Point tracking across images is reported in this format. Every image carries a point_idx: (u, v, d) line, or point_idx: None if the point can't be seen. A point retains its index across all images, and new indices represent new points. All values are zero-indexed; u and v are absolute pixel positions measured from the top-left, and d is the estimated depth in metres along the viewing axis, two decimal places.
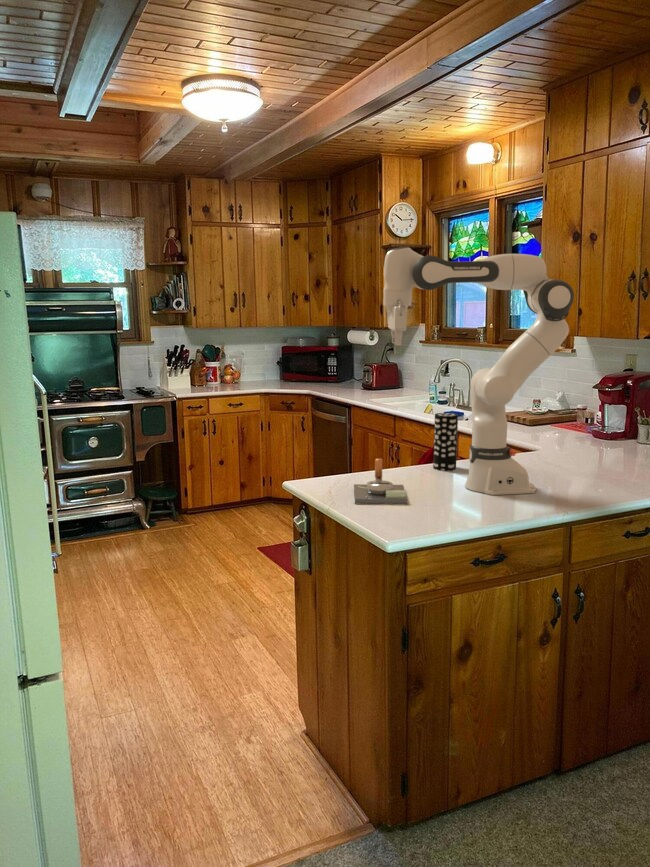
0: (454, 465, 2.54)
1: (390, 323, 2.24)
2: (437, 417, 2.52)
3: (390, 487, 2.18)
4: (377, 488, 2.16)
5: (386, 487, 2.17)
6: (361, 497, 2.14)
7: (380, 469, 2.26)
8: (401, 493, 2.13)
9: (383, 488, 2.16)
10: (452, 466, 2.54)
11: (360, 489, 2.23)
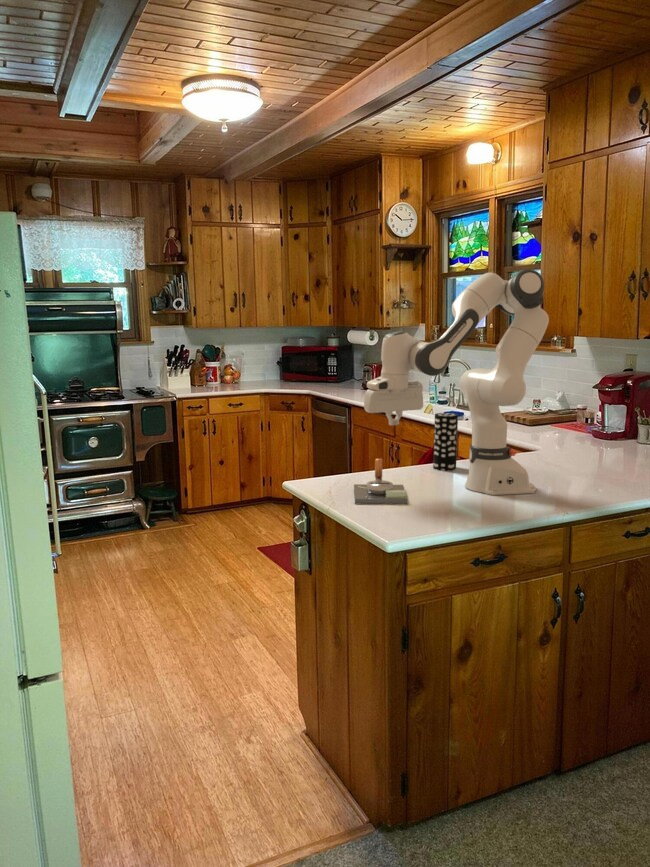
0: (454, 465, 2.54)
1: (390, 406, 2.23)
2: (437, 417, 2.52)
3: (390, 487, 2.18)
4: (377, 488, 2.16)
5: (386, 487, 2.17)
6: (361, 497, 2.14)
7: (380, 469, 2.26)
8: (401, 493, 2.13)
9: (383, 488, 2.16)
10: (452, 466, 2.54)
11: (360, 489, 2.23)
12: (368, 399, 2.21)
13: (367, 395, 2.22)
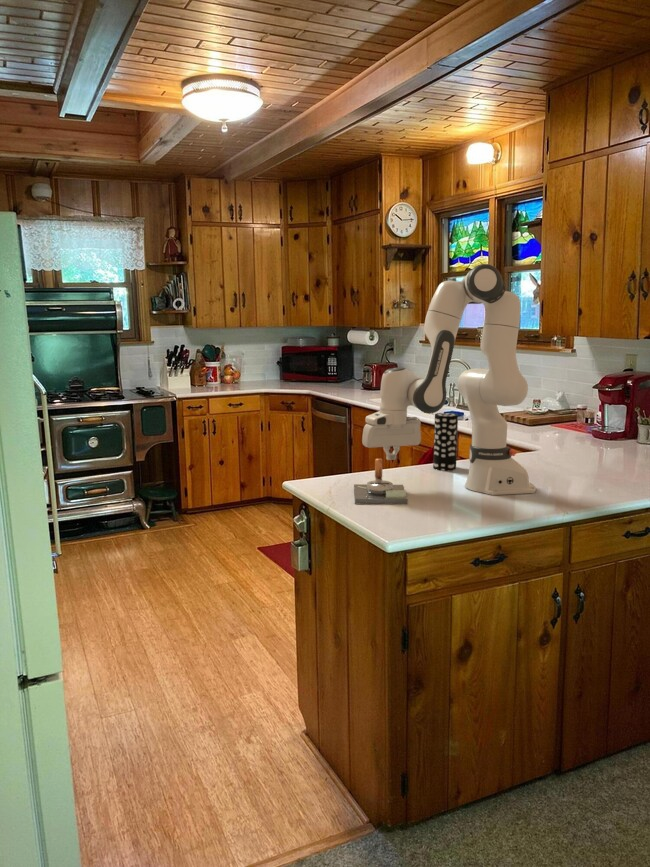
0: (454, 465, 2.54)
1: (388, 441, 2.25)
2: (437, 417, 2.52)
3: (390, 487, 2.18)
4: (377, 488, 2.16)
5: (386, 487, 2.17)
6: (361, 497, 2.14)
7: (380, 469, 2.26)
8: (401, 493, 2.13)
9: (383, 488, 2.16)
10: (452, 466, 2.54)
11: (360, 489, 2.23)
12: (366, 433, 2.23)
13: (365, 429, 2.24)
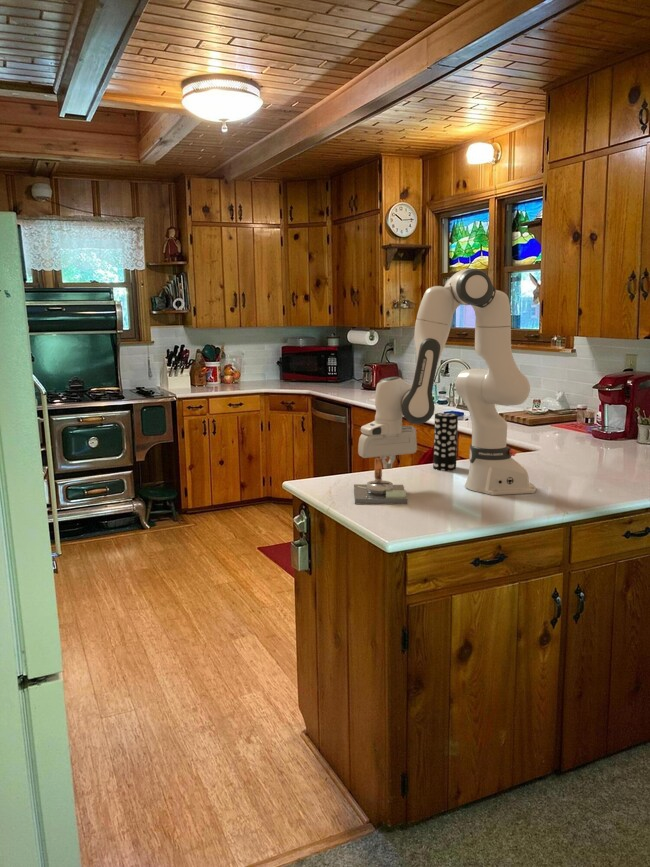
0: (454, 465, 2.54)
1: (384, 450, 2.25)
2: (437, 417, 2.52)
3: (390, 487, 2.18)
4: (377, 488, 2.16)
5: (386, 487, 2.17)
6: (361, 497, 2.14)
7: (380, 469, 2.26)
8: (401, 493, 2.13)
9: (383, 488, 2.16)
10: (452, 466, 2.54)
11: (360, 489, 2.23)
12: (362, 444, 2.23)
13: (360, 440, 2.24)
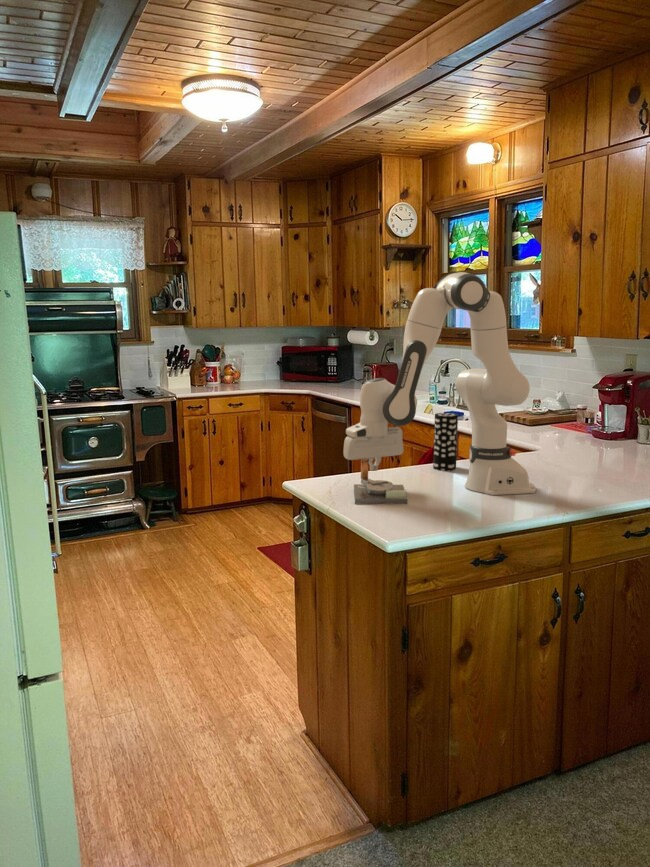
0: (454, 465, 2.54)
1: (369, 452, 2.23)
2: (437, 417, 2.52)
3: (392, 485, 2.20)
4: (385, 488, 2.16)
5: (391, 486, 2.18)
6: (361, 497, 2.14)
7: (367, 470, 2.25)
8: (401, 493, 2.13)
9: (389, 487, 2.17)
10: (452, 466, 2.54)
11: (360, 489, 2.23)
12: (347, 446, 2.21)
13: (346, 442, 2.22)
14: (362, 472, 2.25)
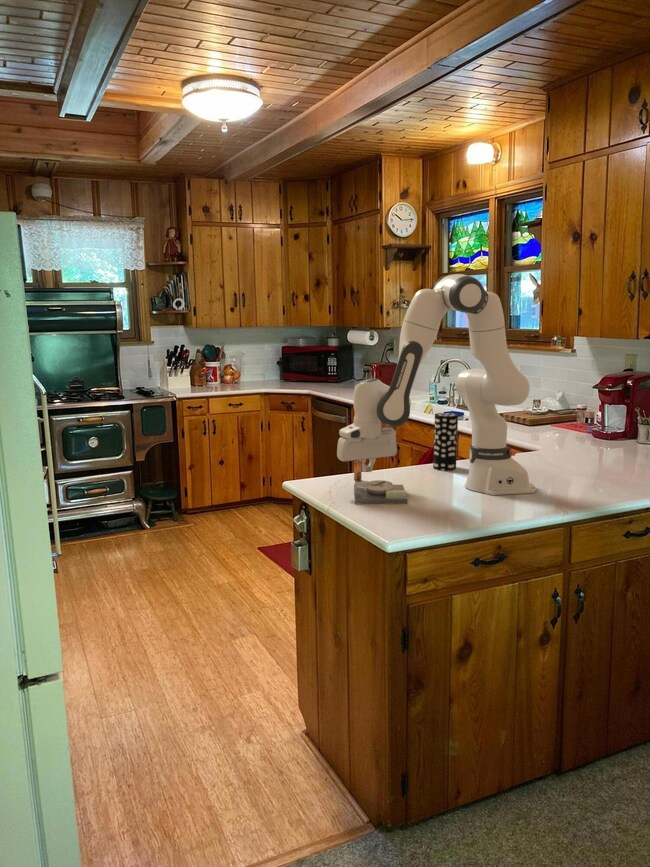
0: (454, 465, 2.54)
1: (363, 453, 2.22)
2: (437, 417, 2.52)
3: None
4: (389, 487, 2.17)
5: (392, 484, 2.20)
6: (361, 497, 2.14)
7: (361, 471, 2.23)
8: (401, 493, 2.13)
9: (392, 486, 2.19)
10: (452, 466, 2.54)
11: (360, 489, 2.23)
12: (340, 447, 2.19)
13: (339, 443, 2.20)
14: (357, 474, 2.23)
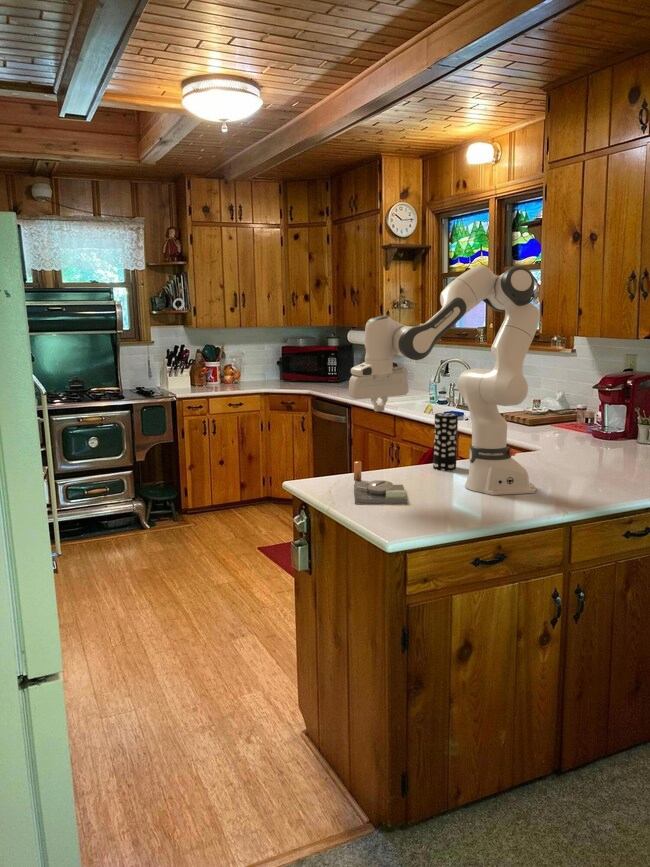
0: (454, 465, 2.54)
1: (375, 391, 2.21)
2: (437, 417, 2.52)
3: None
4: (389, 487, 2.17)
5: (392, 484, 2.20)
6: (361, 497, 2.14)
7: (360, 471, 2.23)
8: (401, 493, 2.13)
9: (392, 486, 2.19)
10: (452, 466, 2.54)
11: (360, 489, 2.23)
12: (352, 385, 2.18)
13: (351, 381, 2.19)
14: (356, 474, 2.22)
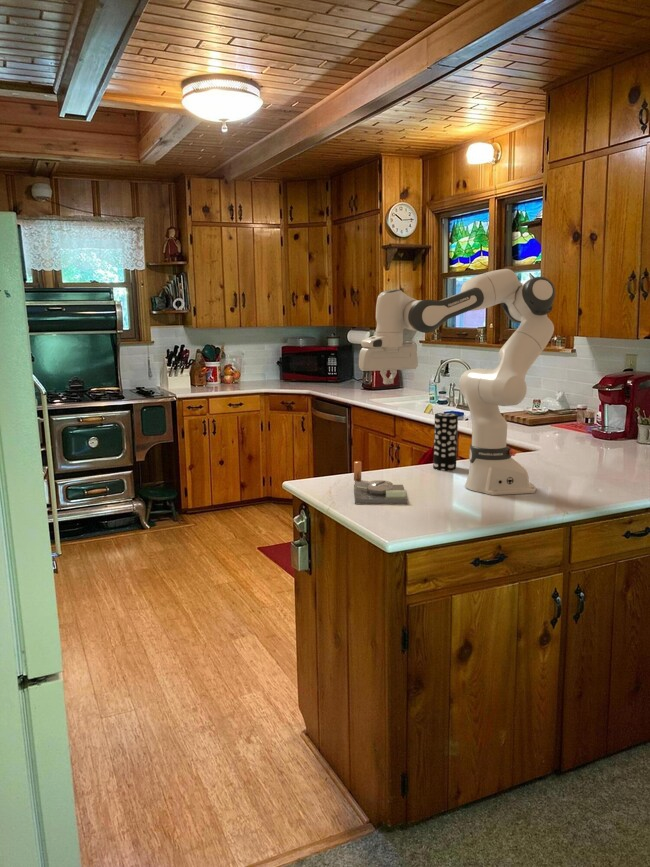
0: (454, 465, 2.54)
1: (384, 364, 2.23)
2: (437, 417, 2.52)
3: None
4: (389, 487, 2.17)
5: (392, 484, 2.20)
6: (361, 497, 2.14)
7: (360, 471, 2.23)
8: (401, 493, 2.13)
9: (392, 486, 2.19)
10: (452, 466, 2.54)
11: (360, 489, 2.23)
12: (362, 356, 2.21)
13: (361, 353, 2.22)
14: (356, 474, 2.22)
